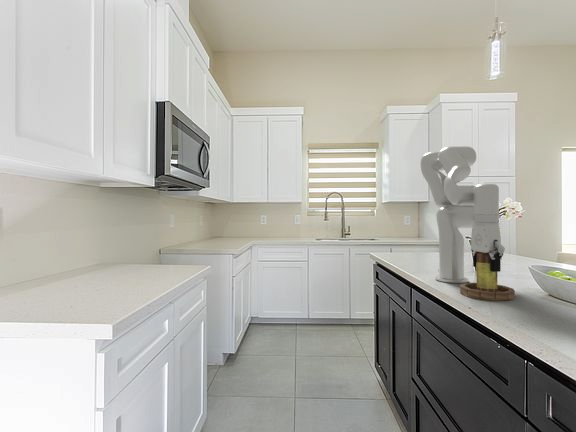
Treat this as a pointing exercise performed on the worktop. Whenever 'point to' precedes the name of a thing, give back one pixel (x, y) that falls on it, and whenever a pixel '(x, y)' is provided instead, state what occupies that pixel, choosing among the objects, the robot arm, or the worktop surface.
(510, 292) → the walnut bowl
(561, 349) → the worktop surface
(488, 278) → the sauce bottle
